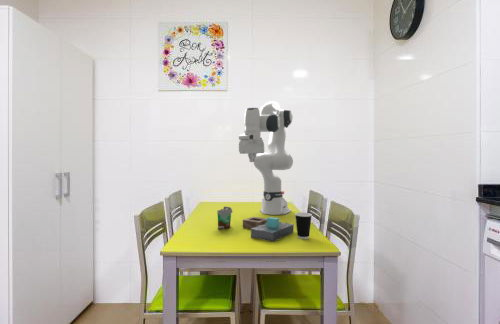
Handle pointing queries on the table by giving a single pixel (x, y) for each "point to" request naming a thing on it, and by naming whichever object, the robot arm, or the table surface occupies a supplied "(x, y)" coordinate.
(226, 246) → the table surface
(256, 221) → the brown hollow square block
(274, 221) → the plug
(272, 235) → the port box
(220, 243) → the table surface
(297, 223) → the dixie cup
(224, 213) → the food container
